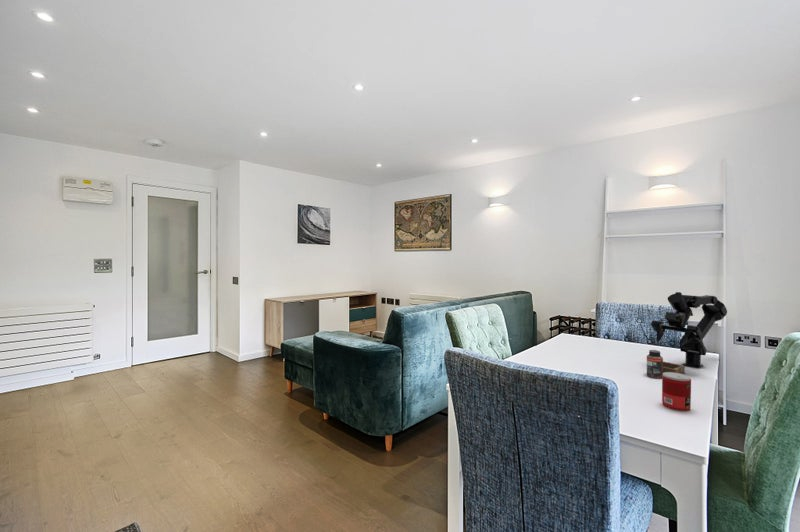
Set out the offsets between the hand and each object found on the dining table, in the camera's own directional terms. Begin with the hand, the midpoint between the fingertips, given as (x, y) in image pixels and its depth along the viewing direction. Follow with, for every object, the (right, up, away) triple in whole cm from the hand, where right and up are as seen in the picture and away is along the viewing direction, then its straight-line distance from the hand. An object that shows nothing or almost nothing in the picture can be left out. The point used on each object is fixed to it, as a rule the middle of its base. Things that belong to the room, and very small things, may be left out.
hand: (668, 343), depth 165 cm
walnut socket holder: (-1, -13, 0) cm, 13 cm away
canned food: (-25, -14, -37) cm, 47 cm away
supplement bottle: (-10, -14, -5) cm, 18 cm away
